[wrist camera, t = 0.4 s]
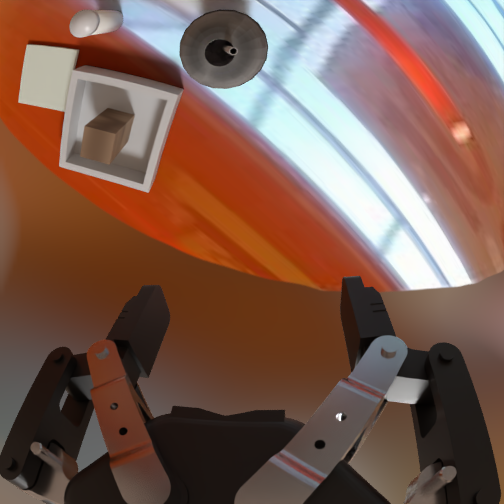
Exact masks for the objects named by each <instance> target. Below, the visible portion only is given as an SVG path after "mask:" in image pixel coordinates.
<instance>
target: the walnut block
mask: <svg viewBox="0 0 504 504" xmlns="http://www.w3.org/2000/svg"><path fill="white" fill-rule="evenodd" d="M134 116H135V115H133V114H130V113H126V112H122V111H118V110H114V109H110V108H107V109H106V110H104V111H103V112H102V113H100V114H99V115H98V116H96V117H95V118H94V119H93V120H91V121H90V122H89V123H88V124H86V125H85V126H84V132H83V139H82V146H81V153H80V157H83V158H87V159H91V160H94V161H98V162H101V163H105V164H108V165H110V164H111V162H112V161H113V160H114V158H115V157H116V156H117V155H118V153H119V152H120V151H121V150H122V148H123V147H124V146H125V145H126V144H127V142H128V140H129V136H130V132H131V128H132V124H133V120H134Z"/></svg>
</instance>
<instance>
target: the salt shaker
mask: <svg viewBox="0 0 504 504" xmlns="http://www.w3.org/2000/svg"><path fill="white" fill-rule="evenodd" d="M122 23H123V15H122V14H121V13H120V12H119V11H116V10H82V11H79V12H78V13H76V14H75V15H74V16H73V18H72V19H71V22H70V31H71V33H72V34H73V35H74V36H75V37H86V36H89V35H95V34H101V33H108V32H114V31H116V30H118V29H119V28H120V27H121V25H122Z"/></svg>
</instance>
